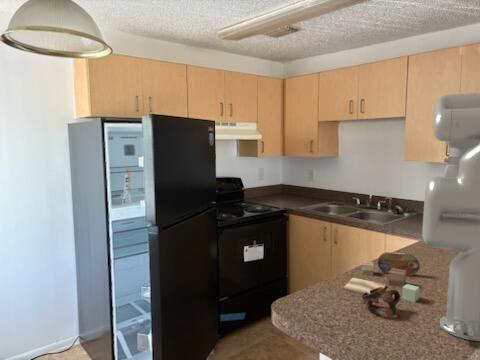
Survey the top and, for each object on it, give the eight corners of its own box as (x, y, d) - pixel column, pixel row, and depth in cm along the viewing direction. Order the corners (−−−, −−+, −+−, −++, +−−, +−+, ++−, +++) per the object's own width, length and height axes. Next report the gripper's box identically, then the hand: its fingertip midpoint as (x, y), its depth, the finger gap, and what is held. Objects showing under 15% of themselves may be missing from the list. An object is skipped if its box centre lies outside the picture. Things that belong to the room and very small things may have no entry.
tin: (377, 273, 146) (378, 252, 145) (377, 270, 149) (377, 250, 148) (419, 277, 141) (420, 255, 140) (417, 274, 144) (418, 253, 143)
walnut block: (403, 288, 130) (404, 274, 130) (388, 285, 133) (389, 271, 133) (405, 283, 135) (406, 270, 134) (391, 280, 137) (391, 267, 137)
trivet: (378, 297, 122) (378, 295, 122) (342, 289, 129) (342, 287, 129) (386, 285, 132) (386, 284, 132) (352, 279, 139) (352, 277, 139)
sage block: (414, 302, 119) (415, 290, 118) (401, 298, 121) (402, 287, 121) (418, 298, 121) (419, 287, 121) (406, 295, 124) (406, 283, 124)
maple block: (373, 275, 143) (373, 265, 142) (362, 274, 144) (362, 264, 144) (372, 272, 147) (373, 262, 146) (362, 271, 148) (362, 261, 147)
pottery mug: (383, 323, 105) (369, 296, 107) (365, 323, 114) (352, 297, 116) (413, 306, 110) (399, 280, 112) (393, 307, 118) (381, 283, 120)
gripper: (432, 161, 135) (429, 207, 137) (489, 163, 125) (485, 212, 127) (435, 161, 141) (432, 205, 143) (489, 162, 131) (486, 209, 133)
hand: (457, 208), depth 135 cm, fingers open, 9 cm apart
